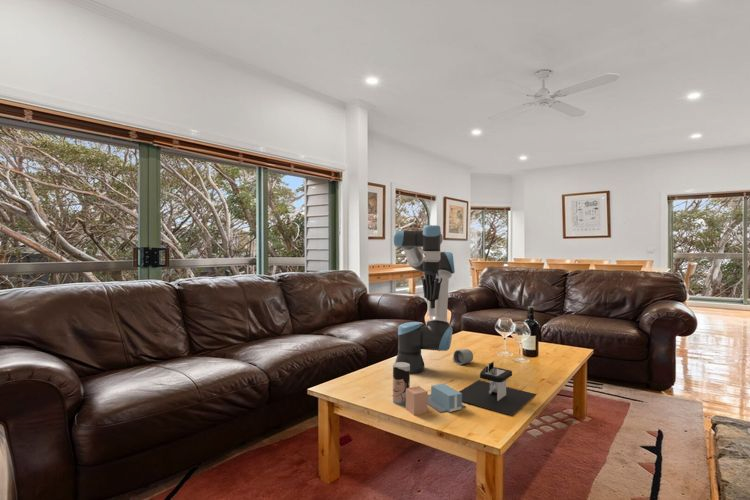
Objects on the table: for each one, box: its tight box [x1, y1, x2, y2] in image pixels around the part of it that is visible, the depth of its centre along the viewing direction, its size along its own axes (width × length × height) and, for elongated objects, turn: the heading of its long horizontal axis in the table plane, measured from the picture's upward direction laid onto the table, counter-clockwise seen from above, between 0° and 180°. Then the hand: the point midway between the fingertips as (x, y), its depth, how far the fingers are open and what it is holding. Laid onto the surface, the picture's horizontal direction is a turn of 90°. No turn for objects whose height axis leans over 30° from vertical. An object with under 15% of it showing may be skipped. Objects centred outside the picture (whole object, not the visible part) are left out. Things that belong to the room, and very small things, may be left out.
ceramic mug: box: [452, 348, 474, 366], centre depth 214 cm, size 11×8×8 cm
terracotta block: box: [405, 386, 429, 416], centre depth 154 cm, size 6×6×8 cm
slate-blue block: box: [430, 383, 463, 413], centre depth 158 cm, size 6×6×12 cm
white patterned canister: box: [392, 362, 411, 406], centre depth 162 cm, size 7×7×15 cm
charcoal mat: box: [428, 393, 467, 414], centre depth 162 cm, size 16×12×1 cm
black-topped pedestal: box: [458, 360, 537, 416], centre depth 168 cm, size 28×26×13 cm
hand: (431, 315), depth 175 cm, fingers closed
